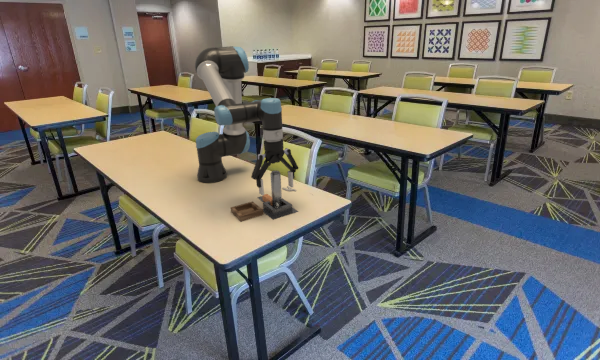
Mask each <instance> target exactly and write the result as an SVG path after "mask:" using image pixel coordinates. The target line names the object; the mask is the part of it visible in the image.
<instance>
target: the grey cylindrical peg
mask: <svg viewBox="0 0 600 360" xmlns="http://www.w3.org/2000/svg"><path fill="white" fill-rule="evenodd" d="M269 174H270V186H271V197H272V205H273V208H277V207H281V206H282V198H283V196H282V177H281V175H282V174H281V172H280V171H279V170H272V171H271V172H270V173H269Z"/></svg>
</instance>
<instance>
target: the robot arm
mask: <svg viewBox="0 0 600 360" xmlns="http://www.w3.org/2000/svg"><path fill="white" fill-rule="evenodd" d="M249 69H250V66H249V59H248V56H247V53H246V51H245V49H244V48H243V47H242V46H231V45H230V46H218V47H217V46H214V47H207V48H204V49H203V50H201V51H200V52H199V54H198V55H197V57H196V59H195V62H194V70H195V73H196V75H197V77H198V79H199V80H202V82H203V83H204V86H205V87H206V90H207V91H208V94H209V96H210V98H211V99H212V101H213V103H214V105H215V107H214V109H213V110H214V113H213V114H214V119H215V122H216V123H217V125H218V126H225V127H223V128H222V133H220V134H219V132H218V131H208V132H204V133H202V134H200V135H197V137H196V138H195V148H196V154H197V159H198V160H197V161H198V168H197V173H196V174H197V175H196V176H197V178H196V179H197V181H198V182H199V183H204V184H209V183H210V184H211V183H218V182H221V181H224V180H225V179H227V177H228V171H227V170H226V168H225V166H224V164H223V159H222V158H223V157H229V156H235V155H241V154H245V153H247V152H248V151H249V149H250V147H251V146H250V144H251V138H250V134H249V132H248V131H247V130H246V128H245V127H244V125H243V124H244V123H253V122H259V121H260V122H262V123H261V124H262V134H263V135H262V136H263V148H264V150H263V151H264V153H263V154H261V153H258V154H256V155H257V157H256V162H255V165H254V167H253V170H252V172H251V173H252V174H251V176H250V177H251V179H253V180H255V181H256V182H255V183H256V187H257V189H258V191H259V192H258V194H259V195H261V196H263V195H265V190H264V180H263V177H264V175H265V173H266V172H267V170H268V168H269V167H270V166H271V165H272V164H273V165H275V164H277V163H280V162H281V163H282V164H283V165H284V166H285V167H286V168H287V169H288V171H287V182H288V186H289V187H291V188H294V179H295V176H296V175H295V173H296V171H297V170H299V165H298V164H297V162H296V160H295V159H294V157H293V155H292V150H291V149H289V148H288V147H285V149H284V140H283V138H284V134H283V131H284V130H283V113H282V110H283V107H282V102H281V100H280V98H275V97H267V98H263V99H259V100H258V99H255V100H253V101H251V102H242V101H243V98H242V96H243V94H242V80H244V78H245V74H246V73H248V72H249ZM284 155H286V157H287V159H288V161H289V162H290V163H289V162H288V161H287V160H286V159H285V158H284Z"/></svg>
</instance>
